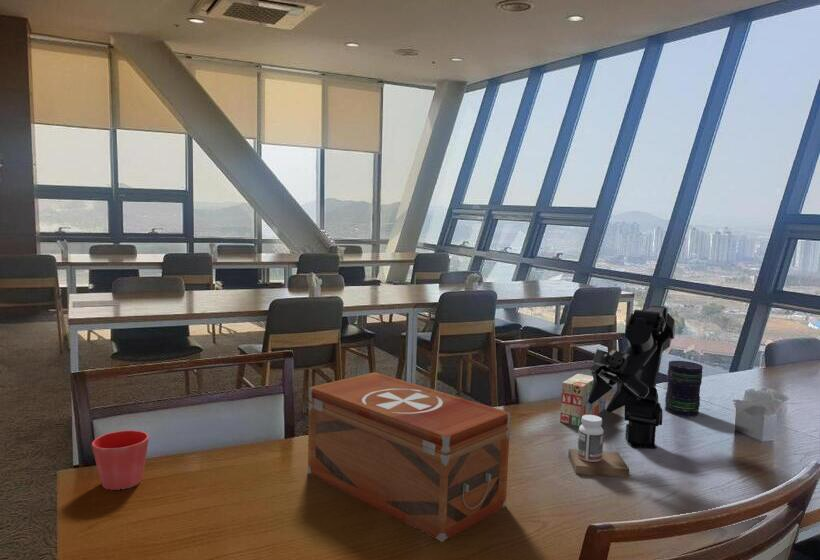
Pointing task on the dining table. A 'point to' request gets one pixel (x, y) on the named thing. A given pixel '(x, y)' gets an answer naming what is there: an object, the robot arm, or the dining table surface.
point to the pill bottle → (590, 438)
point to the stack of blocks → (579, 400)
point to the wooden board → (600, 464)
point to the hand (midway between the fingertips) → (598, 407)
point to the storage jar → (683, 388)
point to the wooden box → (410, 451)
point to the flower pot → (120, 458)
